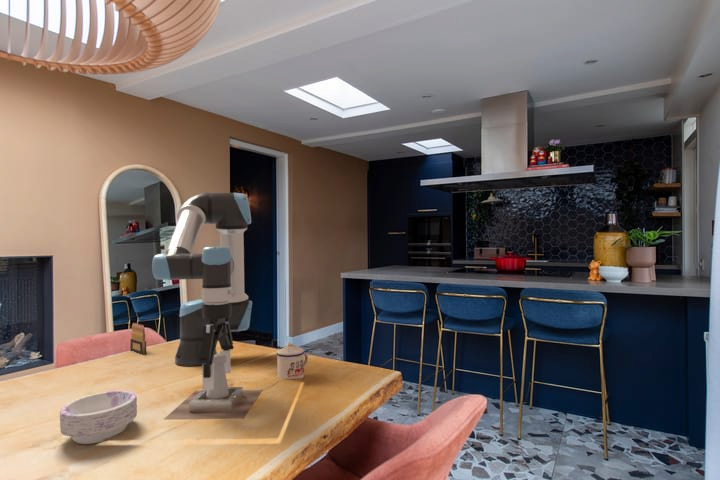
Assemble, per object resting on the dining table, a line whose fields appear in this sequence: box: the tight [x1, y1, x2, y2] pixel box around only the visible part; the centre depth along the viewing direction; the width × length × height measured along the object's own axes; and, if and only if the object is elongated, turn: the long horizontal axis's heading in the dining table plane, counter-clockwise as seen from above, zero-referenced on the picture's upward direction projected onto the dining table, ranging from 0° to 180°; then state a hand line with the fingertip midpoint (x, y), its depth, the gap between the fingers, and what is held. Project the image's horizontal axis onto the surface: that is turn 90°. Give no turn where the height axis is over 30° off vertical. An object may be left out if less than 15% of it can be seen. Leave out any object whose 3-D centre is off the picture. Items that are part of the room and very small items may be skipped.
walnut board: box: [163, 389, 263, 420], centre depth 112 cm, size 20×20×1 cm
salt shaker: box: [206, 353, 229, 400], centre depth 112 cm, size 6×6×13 cm
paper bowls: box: [59, 390, 138, 445], centre depth 96 cm, size 15×15×8 cm
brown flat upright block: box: [129, 322, 147, 355], centre depth 172 cm, size 11×2×12 cm, turn 52°
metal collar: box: [189, 386, 244, 412], centre depth 112 cm, size 11×11×2 cm
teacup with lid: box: [276, 342, 309, 380], centre depth 137 cm, size 12×9×12 cm
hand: (217, 380), depth 112 cm, fingers open, 13 cm apart
